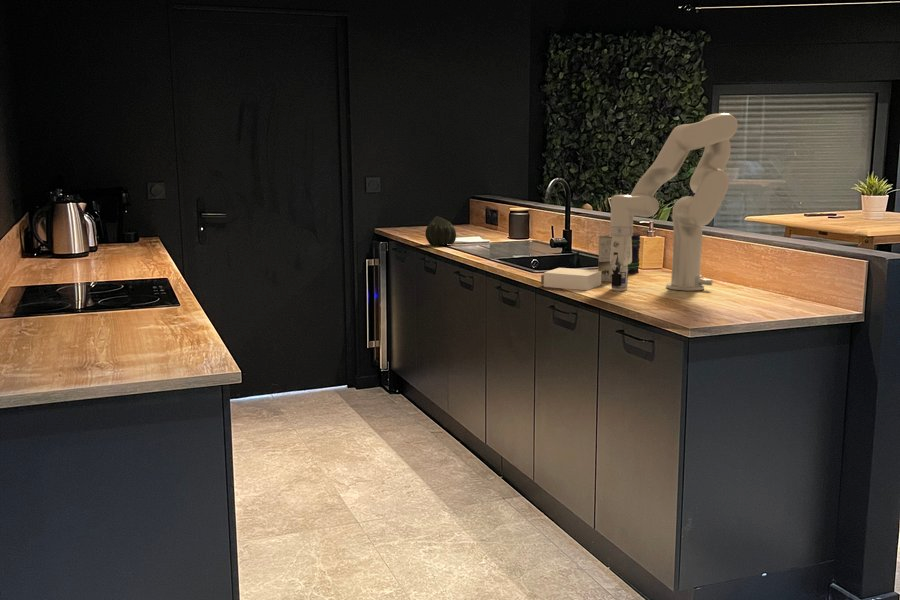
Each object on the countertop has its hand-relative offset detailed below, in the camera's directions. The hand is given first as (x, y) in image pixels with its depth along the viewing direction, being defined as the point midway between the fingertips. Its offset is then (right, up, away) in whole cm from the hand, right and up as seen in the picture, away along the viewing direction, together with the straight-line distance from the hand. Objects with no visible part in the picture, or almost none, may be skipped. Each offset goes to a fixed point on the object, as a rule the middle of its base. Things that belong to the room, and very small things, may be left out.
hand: (619, 283), depth 296 cm
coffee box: (0, +2, +22) cm, 22 cm away
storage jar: (+11, +5, +42) cm, 43 cm away
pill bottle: (0, -2, 0) cm, 2 cm away
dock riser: (-15, -1, +8) cm, 17 cm away
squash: (-63, +21, +130) cm, 146 cm away
